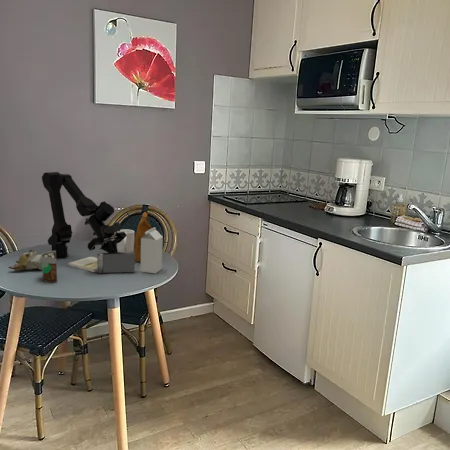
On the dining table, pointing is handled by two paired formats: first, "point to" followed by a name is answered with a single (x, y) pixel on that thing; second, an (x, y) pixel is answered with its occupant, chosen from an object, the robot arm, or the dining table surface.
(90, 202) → the robot arm
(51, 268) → the food container
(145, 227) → the coffee package
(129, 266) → the swing panel
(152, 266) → the milk carton
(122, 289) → the dining table surface
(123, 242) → the mug
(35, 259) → the ceramic sculpture
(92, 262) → the label board
